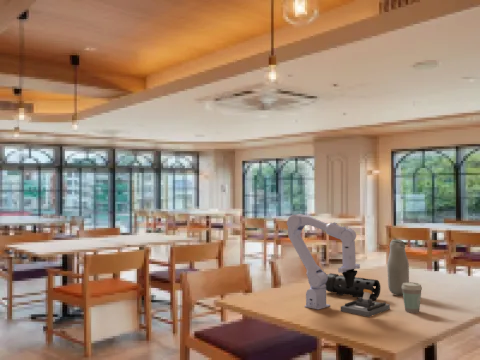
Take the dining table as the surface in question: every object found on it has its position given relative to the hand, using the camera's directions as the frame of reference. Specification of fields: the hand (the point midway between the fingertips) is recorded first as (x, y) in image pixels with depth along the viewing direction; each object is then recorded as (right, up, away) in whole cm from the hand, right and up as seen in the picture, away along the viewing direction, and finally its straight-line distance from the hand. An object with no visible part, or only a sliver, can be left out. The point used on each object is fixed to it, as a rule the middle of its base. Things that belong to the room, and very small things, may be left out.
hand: (349, 286), depth 204 cm
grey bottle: (+31, -11, +28) cm, 43 cm away
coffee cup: (+27, -10, -3) cm, 29 cm away
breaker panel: (+7, -10, 0) cm, 12 cm away
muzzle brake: (+7, -11, +26) cm, 29 cm away
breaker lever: (+7, -6, 0) cm, 9 cm away
